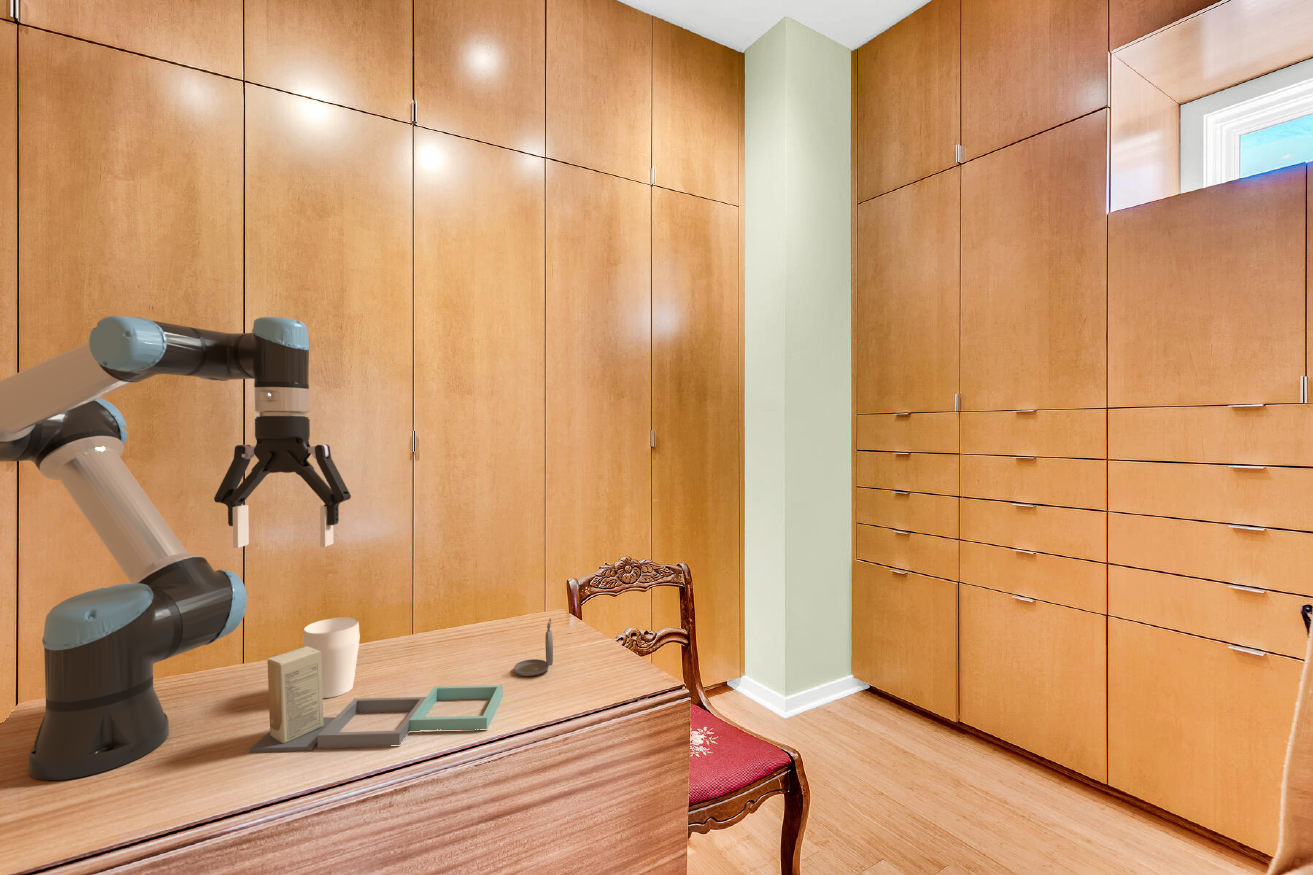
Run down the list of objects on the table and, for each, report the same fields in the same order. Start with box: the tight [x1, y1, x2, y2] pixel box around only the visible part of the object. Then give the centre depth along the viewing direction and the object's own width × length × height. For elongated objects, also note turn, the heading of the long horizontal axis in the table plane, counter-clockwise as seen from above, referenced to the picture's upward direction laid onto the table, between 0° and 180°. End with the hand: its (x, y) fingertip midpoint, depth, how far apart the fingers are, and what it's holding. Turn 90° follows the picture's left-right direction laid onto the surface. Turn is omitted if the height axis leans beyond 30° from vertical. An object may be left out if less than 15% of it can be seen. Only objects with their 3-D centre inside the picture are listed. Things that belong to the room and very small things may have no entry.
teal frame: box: [409, 684, 504, 731], centre depth 99 cm, size 12×12×2 cm
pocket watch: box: [513, 617, 554, 677], centre depth 117 cm, size 8×8×10 cm
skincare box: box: [267, 646, 324, 743], centre depth 92 cm, size 6×4×12 cm
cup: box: [302, 617, 361, 699], centre depth 108 cm, size 9×9×12 cm
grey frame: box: [317, 696, 427, 750], centre depth 95 cm, size 12×12×2 cm
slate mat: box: [249, 716, 337, 753], centre depth 92 cm, size 9×9×1 cm
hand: (284, 545), depth 96 cm, fingers open, 13 cm apart
